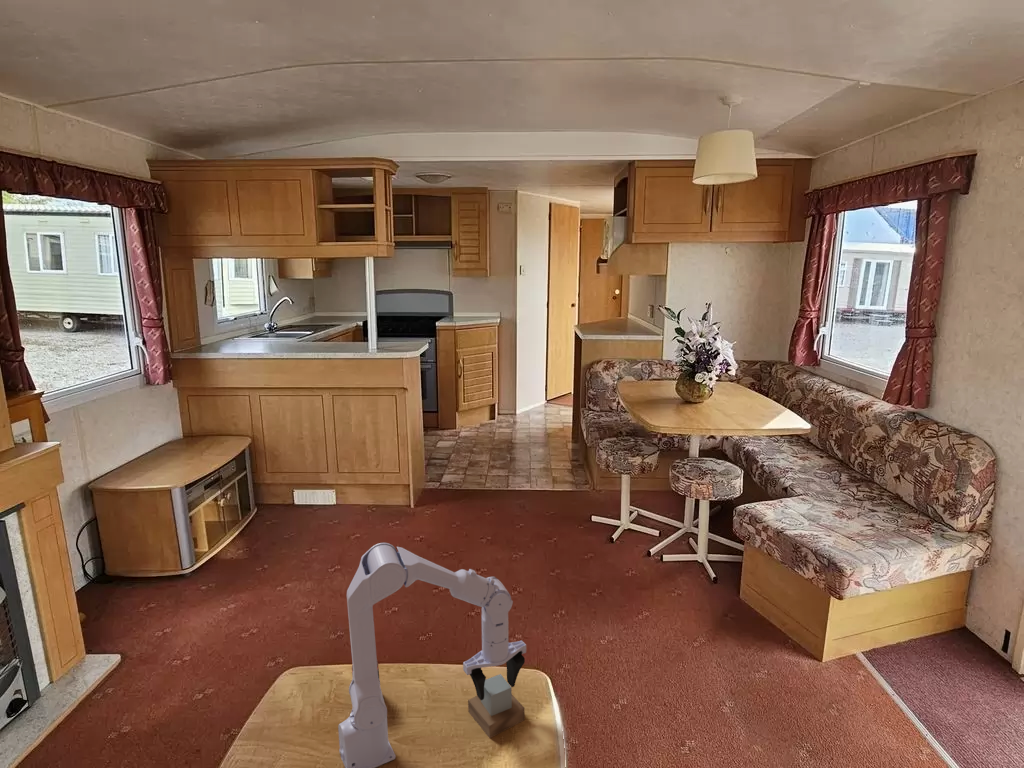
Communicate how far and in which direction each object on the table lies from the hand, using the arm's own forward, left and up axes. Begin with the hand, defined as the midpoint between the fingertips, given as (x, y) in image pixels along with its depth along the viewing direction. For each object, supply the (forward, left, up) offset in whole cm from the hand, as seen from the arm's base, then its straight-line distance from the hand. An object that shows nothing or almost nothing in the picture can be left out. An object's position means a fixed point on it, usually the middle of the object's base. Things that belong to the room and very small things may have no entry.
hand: (495, 690), depth 128 cm
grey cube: (0, 0, -3) cm, 3 cm away
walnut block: (0, 0, -7) cm, 7 cm away
